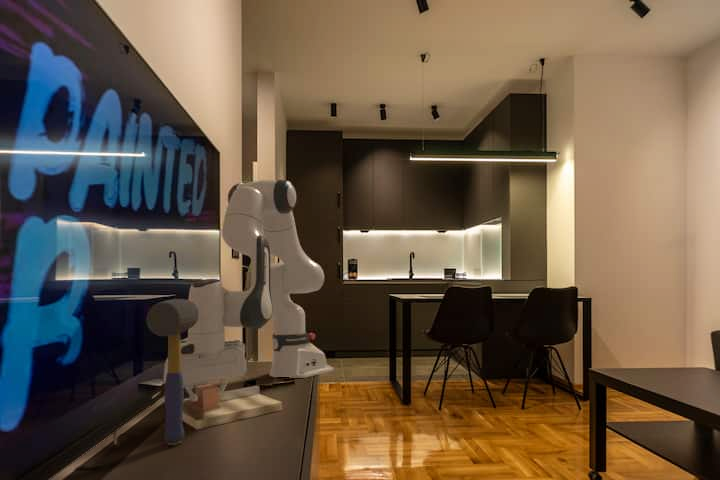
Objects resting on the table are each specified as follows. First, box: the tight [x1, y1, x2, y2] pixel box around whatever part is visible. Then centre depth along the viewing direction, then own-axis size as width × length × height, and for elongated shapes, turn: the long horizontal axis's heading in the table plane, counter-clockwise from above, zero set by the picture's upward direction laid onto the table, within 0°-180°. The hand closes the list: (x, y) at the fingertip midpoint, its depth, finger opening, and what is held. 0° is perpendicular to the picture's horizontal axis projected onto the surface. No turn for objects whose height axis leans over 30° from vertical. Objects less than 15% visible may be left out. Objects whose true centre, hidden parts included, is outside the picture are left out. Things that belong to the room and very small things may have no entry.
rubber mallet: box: [146, 298, 199, 446], centre depth 102 cm, size 12×8×30 cm, turn 0°
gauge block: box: [195, 383, 220, 411], centre depth 121 cm, size 4×5×5 cm
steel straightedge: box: [183, 385, 260, 406], centre depth 127 cm, size 22×2×2 cm, turn 129°
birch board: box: [182, 393, 283, 430], centre depth 122 cm, size 22×14×4 cm, turn 129°
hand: (207, 399), depth 121 cm, fingers open, 5 cm apart
